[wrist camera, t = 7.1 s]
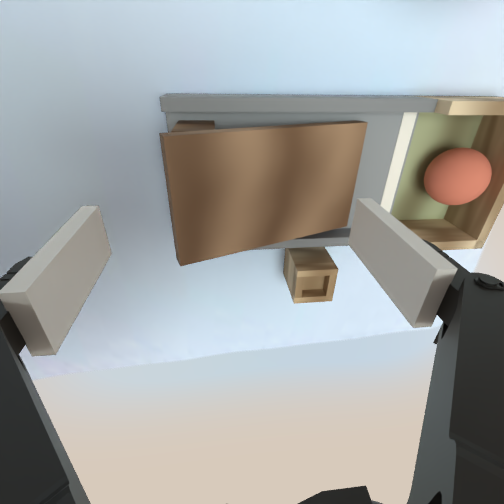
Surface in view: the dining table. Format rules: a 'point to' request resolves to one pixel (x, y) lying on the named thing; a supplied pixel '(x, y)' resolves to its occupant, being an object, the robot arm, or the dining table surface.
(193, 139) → the ramp
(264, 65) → the dining table surface
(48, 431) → the robot arm
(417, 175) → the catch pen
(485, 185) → the ball
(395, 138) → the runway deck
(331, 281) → the hollow wooden block
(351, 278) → the dining table surface
